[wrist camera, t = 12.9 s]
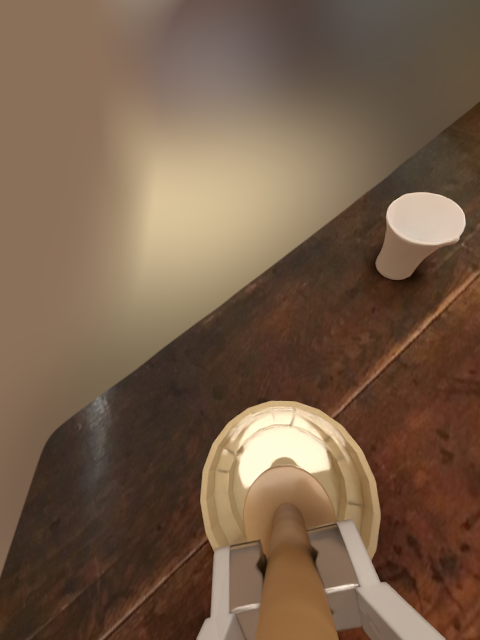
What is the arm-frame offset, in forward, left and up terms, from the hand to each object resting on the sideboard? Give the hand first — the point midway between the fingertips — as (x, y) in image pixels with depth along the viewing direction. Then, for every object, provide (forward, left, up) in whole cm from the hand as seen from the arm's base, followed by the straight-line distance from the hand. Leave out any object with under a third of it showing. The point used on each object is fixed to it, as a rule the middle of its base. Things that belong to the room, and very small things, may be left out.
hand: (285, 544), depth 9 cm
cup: (+35, +3, -25) cm, 43 cm away
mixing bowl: (0, 0, -25) cm, 25 cm away
